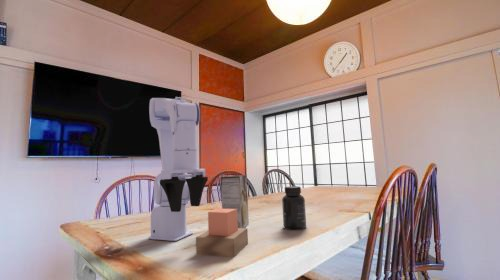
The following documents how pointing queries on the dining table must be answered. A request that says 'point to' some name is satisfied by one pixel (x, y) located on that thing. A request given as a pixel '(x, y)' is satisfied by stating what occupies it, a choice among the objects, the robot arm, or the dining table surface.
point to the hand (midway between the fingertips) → (186, 208)
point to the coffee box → (236, 197)
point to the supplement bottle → (293, 209)
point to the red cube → (222, 222)
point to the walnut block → (222, 243)
